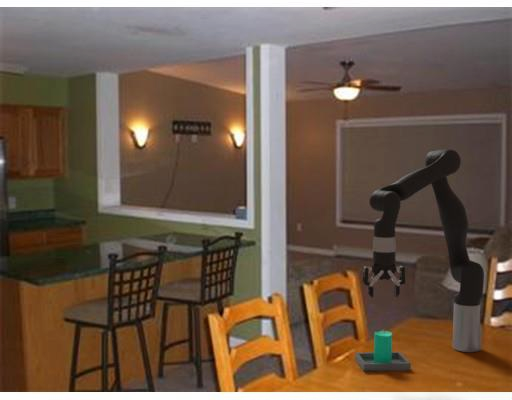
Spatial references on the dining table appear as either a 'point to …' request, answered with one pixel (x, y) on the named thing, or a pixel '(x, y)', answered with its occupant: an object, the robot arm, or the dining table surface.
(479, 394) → the dining table surface
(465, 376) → the dining table surface
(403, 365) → the tray
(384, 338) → the candle
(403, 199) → the robot arm
